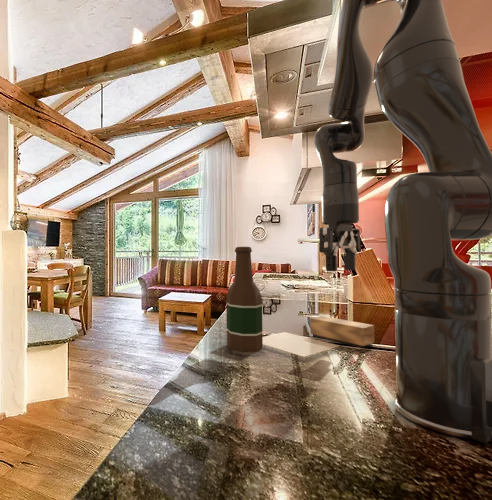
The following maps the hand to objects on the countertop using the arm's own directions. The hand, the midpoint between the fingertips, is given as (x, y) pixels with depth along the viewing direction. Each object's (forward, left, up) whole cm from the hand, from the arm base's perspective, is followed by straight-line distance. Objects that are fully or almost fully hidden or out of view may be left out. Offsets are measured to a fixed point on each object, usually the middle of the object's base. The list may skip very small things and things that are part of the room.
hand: (341, 270), depth 73 cm
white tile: (+5, +12, -18) cm, 22 cm away
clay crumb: (+15, +11, -18) cm, 26 cm away
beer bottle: (+9, +24, -18) cm, 32 cm away
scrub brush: (0, 0, -18) cm, 18 cm away
